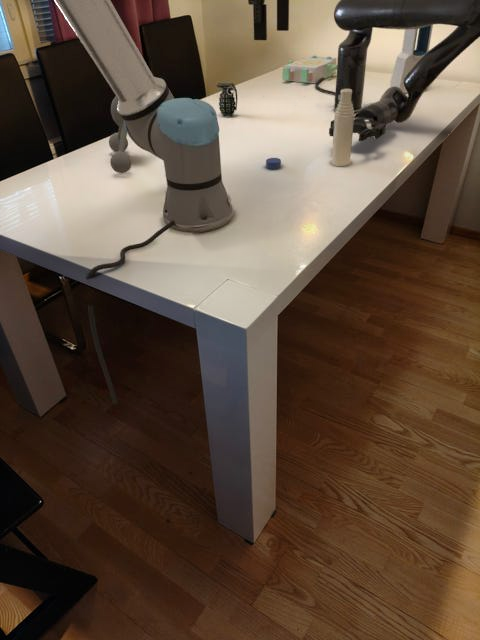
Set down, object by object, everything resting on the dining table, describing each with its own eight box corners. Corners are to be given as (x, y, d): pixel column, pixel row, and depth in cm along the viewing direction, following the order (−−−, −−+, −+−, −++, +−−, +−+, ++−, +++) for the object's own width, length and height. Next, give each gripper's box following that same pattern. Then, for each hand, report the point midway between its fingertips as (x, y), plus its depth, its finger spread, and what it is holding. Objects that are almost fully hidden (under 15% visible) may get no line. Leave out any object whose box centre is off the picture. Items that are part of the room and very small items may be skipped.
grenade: (217, 117, 168) (214, 86, 162) (221, 112, 172) (219, 82, 166) (235, 117, 166) (233, 86, 160) (239, 113, 171) (238, 82, 165)
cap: (263, 168, 129) (263, 162, 128) (269, 163, 131) (269, 157, 130) (277, 170, 127) (277, 163, 126) (283, 165, 130) (283, 158, 129)
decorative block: (304, 53, 218) (345, 56, 208) (304, 69, 222) (344, 73, 212) (273, 65, 202) (316, 68, 192) (273, 81, 206) (315, 86, 196)
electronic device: (398, 94, 180) (412, -3, 162) (388, 89, 186) (400, -5, 168) (428, 90, 183) (445, -6, 164) (417, 86, 188) (432, -7, 170)
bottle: (333, 159, 132) (338, 87, 121) (351, 160, 130) (357, 87, 119) (330, 165, 128) (334, 92, 117) (348, 166, 127) (355, 92, 116)
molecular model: (195, 164, 133) (181, 39, 115) (114, 179, 127) (87, 50, 109) (172, 140, 150) (157, 28, 132) (101, 152, 145) (75, 37, 126)
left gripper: (265, -90, 87) (266, 44, 100) (309, -87, 105) (305, 27, 118) (227, -87, 90) (233, 44, 103) (276, -85, 108) (276, 26, 121)
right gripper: (350, 101, 138) (322, 116, 128) (399, 107, 131) (372, 123, 121) (348, 128, 142) (320, 145, 133) (395, 136, 135) (369, 153, 125)
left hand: (272, 35), depth 111 cm, fingers open, 13 cm apart
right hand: (345, 134), depth 127 cm, fingers open, 8 cm apart
